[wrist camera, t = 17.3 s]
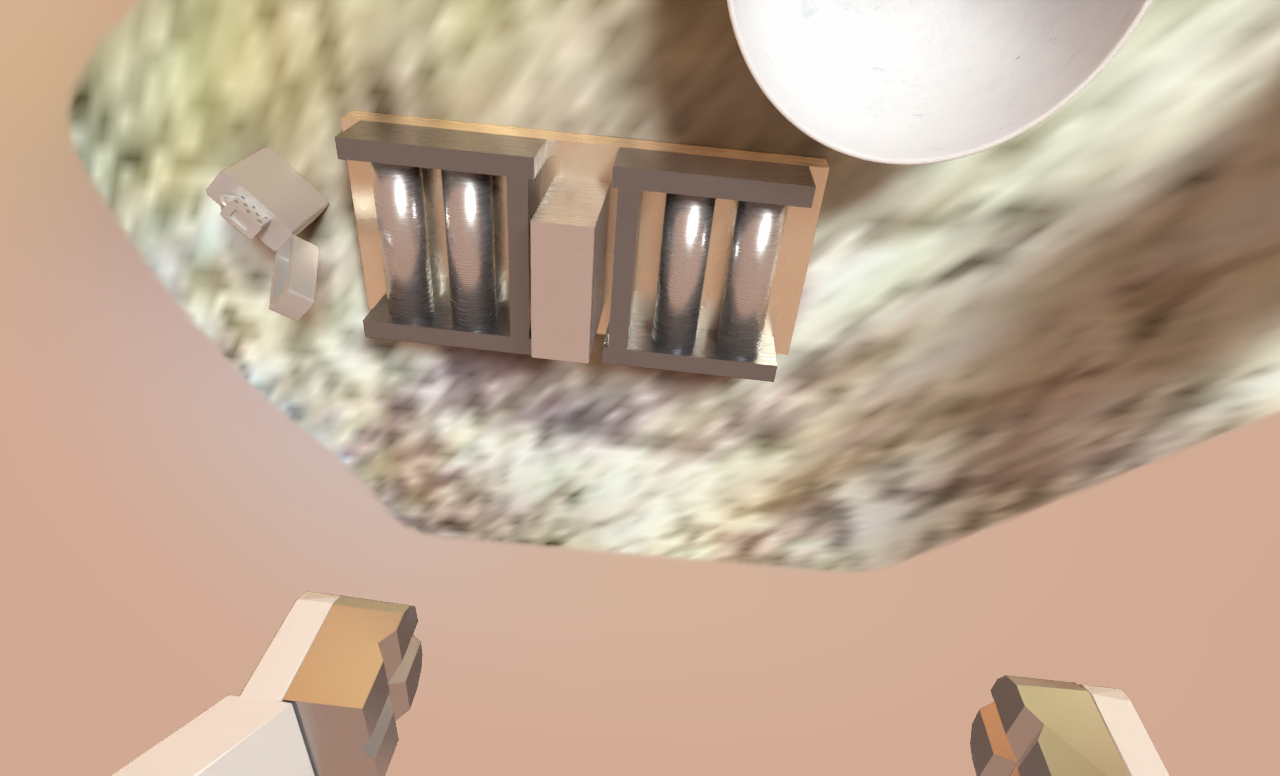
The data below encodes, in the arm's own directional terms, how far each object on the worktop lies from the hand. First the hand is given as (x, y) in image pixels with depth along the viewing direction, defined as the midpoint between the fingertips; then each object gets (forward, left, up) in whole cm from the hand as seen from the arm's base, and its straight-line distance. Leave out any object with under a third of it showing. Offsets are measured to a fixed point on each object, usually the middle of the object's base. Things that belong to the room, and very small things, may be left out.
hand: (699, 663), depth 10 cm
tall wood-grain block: (+6, +7, -30) cm, 31 cm away
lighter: (+21, +7, -31) cm, 38 cm away
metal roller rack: (+6, +7, -31) cm, 32 cm away
